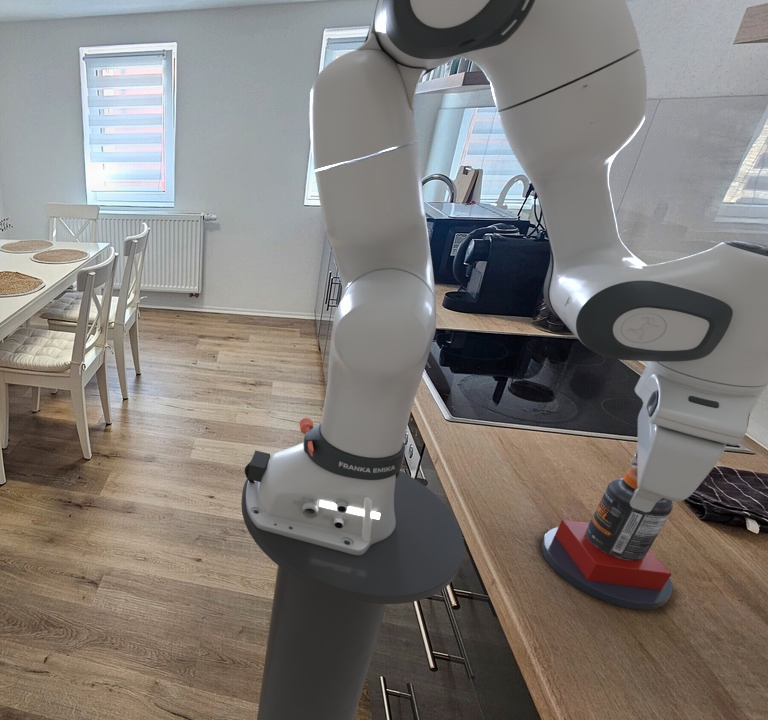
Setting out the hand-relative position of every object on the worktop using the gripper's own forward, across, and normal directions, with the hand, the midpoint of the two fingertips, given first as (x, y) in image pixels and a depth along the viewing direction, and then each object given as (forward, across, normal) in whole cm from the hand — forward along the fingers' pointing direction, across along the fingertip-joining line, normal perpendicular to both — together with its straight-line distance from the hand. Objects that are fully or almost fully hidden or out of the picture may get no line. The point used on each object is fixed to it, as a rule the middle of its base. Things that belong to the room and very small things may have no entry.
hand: (638, 486), depth 62 cm
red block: (+13, 0, +1) cm, 13 cm away
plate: (+14, 0, +1) cm, 14 cm away
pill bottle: (+10, 0, +1) cm, 10 cm away
